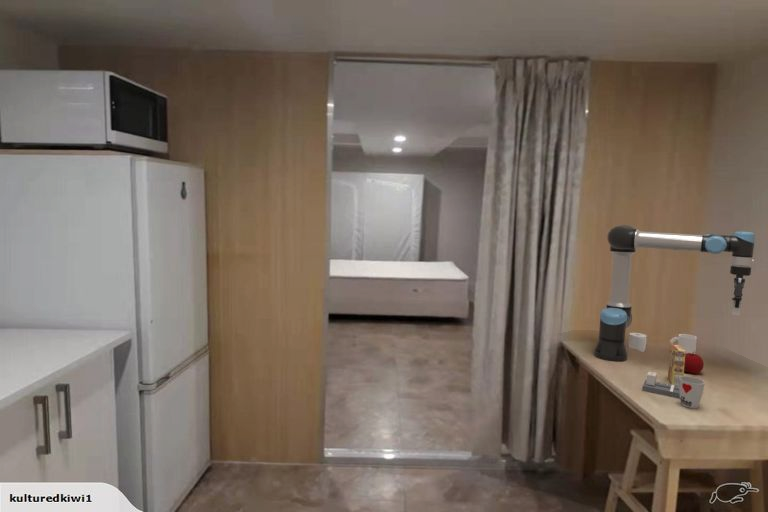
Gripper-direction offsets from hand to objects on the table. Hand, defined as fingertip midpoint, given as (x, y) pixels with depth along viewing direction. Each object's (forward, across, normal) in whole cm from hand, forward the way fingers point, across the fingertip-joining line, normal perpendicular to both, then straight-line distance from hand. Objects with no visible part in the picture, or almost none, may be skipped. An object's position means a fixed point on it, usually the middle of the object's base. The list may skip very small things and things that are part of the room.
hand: (735, 312), depth 222 cm
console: (+28, -49, +20) cm, 60 cm away
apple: (+28, -14, +14) cm, 34 cm away
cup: (+28, -59, +12) cm, 66 cm away
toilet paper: (+28, +12, +40) cm, 50 cm away
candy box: (+28, -34, +19) cm, 48 cm away
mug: (+28, +15, +20) cm, 37 cm away
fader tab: (+25, -49, +26) cm, 61 cm away
